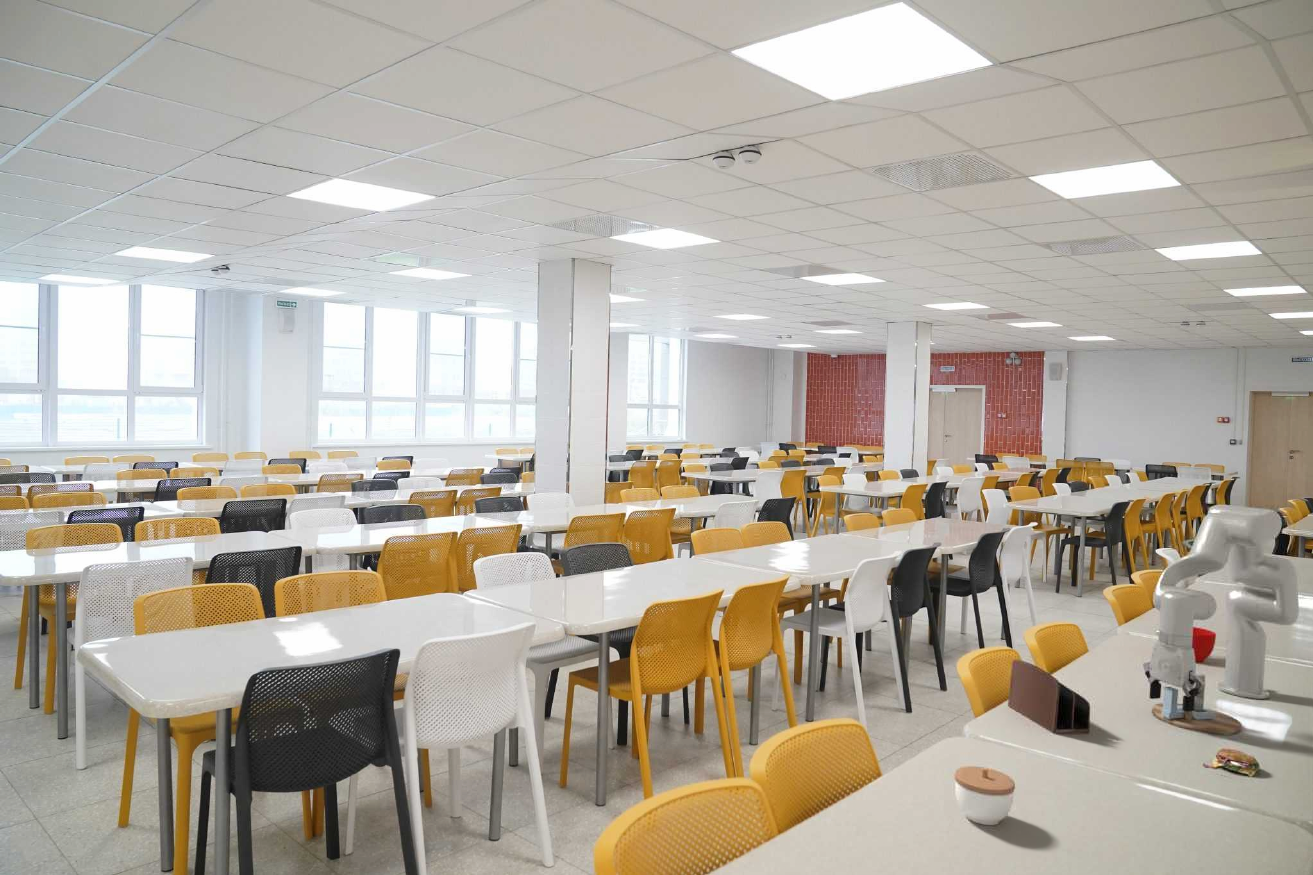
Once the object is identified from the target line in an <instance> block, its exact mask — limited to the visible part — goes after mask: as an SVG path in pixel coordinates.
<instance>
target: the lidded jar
mask: <svg viewBox="0 0 1313 875" xmlns="http://www.w3.org/2000/svg"><path fill="white" fill-rule="evenodd" d="M1015 789H1016V783H1015V781H1014V779H1013V778H1012V777H1011V776H1009V775H1007V774H1005V773H1004V772H1001V771H998V770H995V769H993V768H988V767H983V766H974V765H969V766H962V767H959V768H957V769H956V770H955V772H954V792H955V798H956V802H957V804H958V806H959V808H960V809H961V811H962V812H963V814H965V817H966V818H967V819H968V820H970V821H971V822H973V823H976V824H979V825H982V826H983V825H984V826H995V825H998V824H1000V821H1003V820H1004V819H1005V818H1006V817H1007V816H1008V814H1009V813H1010V812H1011V809H1012V806H1013V803H1014V802H1013V801H1014V794H1015Z"/></svg>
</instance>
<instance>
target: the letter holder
mask: <svg viewBox="0 0 1313 875" xmlns="http://www.w3.org/2000/svg"><path fill="white" fill-rule="evenodd" d="M1011 663H1012V664H1011V672H1010V680H1009V691H1008V701H1007V706H1008V708H1009V709H1012V710H1014V711H1015V712H1017V713H1019V714H1020V715H1022V716H1024V717H1025V718H1027V719H1029V720H1031V721H1032V722H1033V723H1035V724H1037V725H1038V726H1040V727H1042V728H1043V729H1046V730H1047V731H1048V732H1051V733H1052V734H1054V735H1056V734H1057V735H1061V734H1067V735H1068V734H1071V735H1072V734H1090V725H1091V723H1090V722H1091V721H1090V717H1091V705H1090V702H1089V701H1088V700H1087V699H1086V698H1085V697H1083V696H1082V695H1080V694H1079V693H1077V692H1075V690H1072V689H1071V688H1068V687H1067V686H1066V685H1064V684H1063V683H1061V682H1060V681H1059V680H1058V679H1057V678H1056V677H1055V676H1053V675H1052V674H1050V673H1049V672H1047V671H1045V670H1044V669H1042V668H1040V667H1039V666H1037V665H1034V664H1032V663H1029V662H1027V661H1024V660H1019V659H1012V661H1011Z"/></svg>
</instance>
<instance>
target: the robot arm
mask: <svg viewBox="0 0 1313 875" xmlns="http://www.w3.org/2000/svg"><path fill="white" fill-rule="evenodd" d="M1282 524H1283V522H1282V518H1281V516H1280V514H1279V513H1278V512H1276V511H1275V510H1272V509H1268V508H1261V507H1260V508H1258V507H1249V506H1248V507H1247V506H1242V505H1231V504H1215V505H1212V506H1211V507H1209V509H1208V511H1207V514H1206V515H1205V516H1204V517H1203V519H1202V521H1201V524H1200V526H1199V528H1198V531H1197V533H1196V536H1195V539H1194V540H1193V544H1192V547H1191V549H1190V550H1189V551H1190V552H1189V553H1188V554H1187V555H1184V556H1182V557H1181V558H1178V559H1176V561H1174V562H1172V563H1171V564H1169V565H1168V566H1167V567H1166V568H1165V569H1164V570H1163V571H1162V572H1161V574H1160V576H1159V577H1158V581H1157V583H1156V585H1155V588H1154V590H1153V591H1154V592H1153V594H1152V596H1153V597H1152V603H1153V606H1154V607H1155V609H1156V610H1158V611H1159V626H1158V630H1156V632H1155V634H1156V635H1157V636H1158V640H1156V641H1155V642H1154V645H1153V647H1152V652H1151V657H1150V661H1149V662H1147V661H1146V662H1144V663H1142V666H1143V670H1144V674H1145V676H1146V677H1147V682H1148V683H1149V686H1150V687H1149V699H1151V700H1156V699H1161V698H1162V697H1161V695H1162V683H1165V684H1167V685H1171V686H1173V687H1177V688H1181V690H1182V691H1183V693H1184V694H1185V695H1183V696H1182V704H1183V706H1182V710H1183V711H1185V712H1188V711H1193V710H1194V702H1195V696H1197V695H1198V694H1199V693H1201V692H1202V690H1203V688H1204V687H1205V686H1206V681H1205V682H1203V681H1202V680H1201V679H1200V678H1199V677H1198V676H1197V675H1196V673H1197V671H1196V668H1197V667H1196V665H1197V664H1196V662H1195V654H1194V649H1193V648H1192V638H1193V627H1194V620H1197V621H1205V620H1208V619H1209V620H1210V619H1211V618H1212V617H1213V616H1214V615H1215V614H1216V612H1217V602H1216V599H1215V597H1214V596H1213V595H1211V593H1208V592H1205V591H1202V590H1196V589H1191V588H1186V587H1180V586H1177V584H1179V582H1181V581H1183V580H1185V579H1188V578H1191V577H1195V576H1200V575H1205V574H1209V573H1215V572H1218V571H1219V572H1220V570H1222V569H1224V567H1225V566H1226V563H1227V561H1228V571H1229V575H1230V578H1231V580H1232V581H1233V582H1235V583H1236V584H1240V585H1235V586H1233V587H1229V589H1228V590H1227V592H1226V594H1225V604H1226V605H1225V606H1226V613H1227V634H1226V635H1227V637H1226V651H1225V662H1224V663H1225V668H1224V678H1223V679H1224V681H1219V682H1218V684H1217V688H1218V689H1219V690H1220V691H1222V692H1224V693H1227V694H1229V695H1235V696H1237V697H1241V698H1242V697H1243V698H1247V699H1248V698H1249V699H1257V700H1259V699H1260V700H1262V699H1265V700H1266V699H1268V698H1269V697H1270V692H1269V691H1268V690H1266V689H1264V679H1265V668H1266V667H1265V666H1266V665H1265V664H1266V651H1267V648H1266V647H1267V634H1266V631H1265V630H1264V628H1263V626H1262V625H1261V623H1260V622H1263V623H1270V624H1273V625H1280V626H1292V625H1293V624H1295V623H1296V622H1297V620H1298V617H1299V613H1300V612H1299V611H1300V607H1299V604H1300V603H1299V590H1298V588H1299V587H1298V575H1297V574H1298V573H1297V570H1296V567H1295V565H1294V563H1293V562H1292V561H1291V560H1289V559H1286V558H1285V557H1278V556H1270V555H1266V554H1265V553H1264V549H1263V545H1265V544H1267V543H1269V542H1271V541H1274V539H1276V538H1277V537H1278V535H1279V534H1280V532H1281V530H1282V526H1283V525H1282ZM1160 682H1162V683H1160ZM1195 683H1196V686H1195V688H1194V684H1195ZM1205 688H1206V687H1205Z"/></svg>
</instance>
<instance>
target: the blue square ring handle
mask: <svg viewBox="0 0 1313 875" xmlns="http://www.w3.org/2000/svg"><path fill="white" fill-rule="evenodd" d="M1178 695H1179V689H1177V688H1175V687H1172V686H1164V688H1163V697H1162V698H1163V701H1162V703H1163V710H1161V716H1164V717H1166V718H1168V719H1171V718H1185V711H1183V710H1182V706H1178V708H1177V704H1178V698H1179V696H1178ZM1205 708H1206V707H1203V712H1195V711H1192V718H1195V719H1197V720H1198V719H1213V718H1215V712H1212V711H1210V710H1207V709H1208V708H1207V709H1205Z"/></svg>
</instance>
